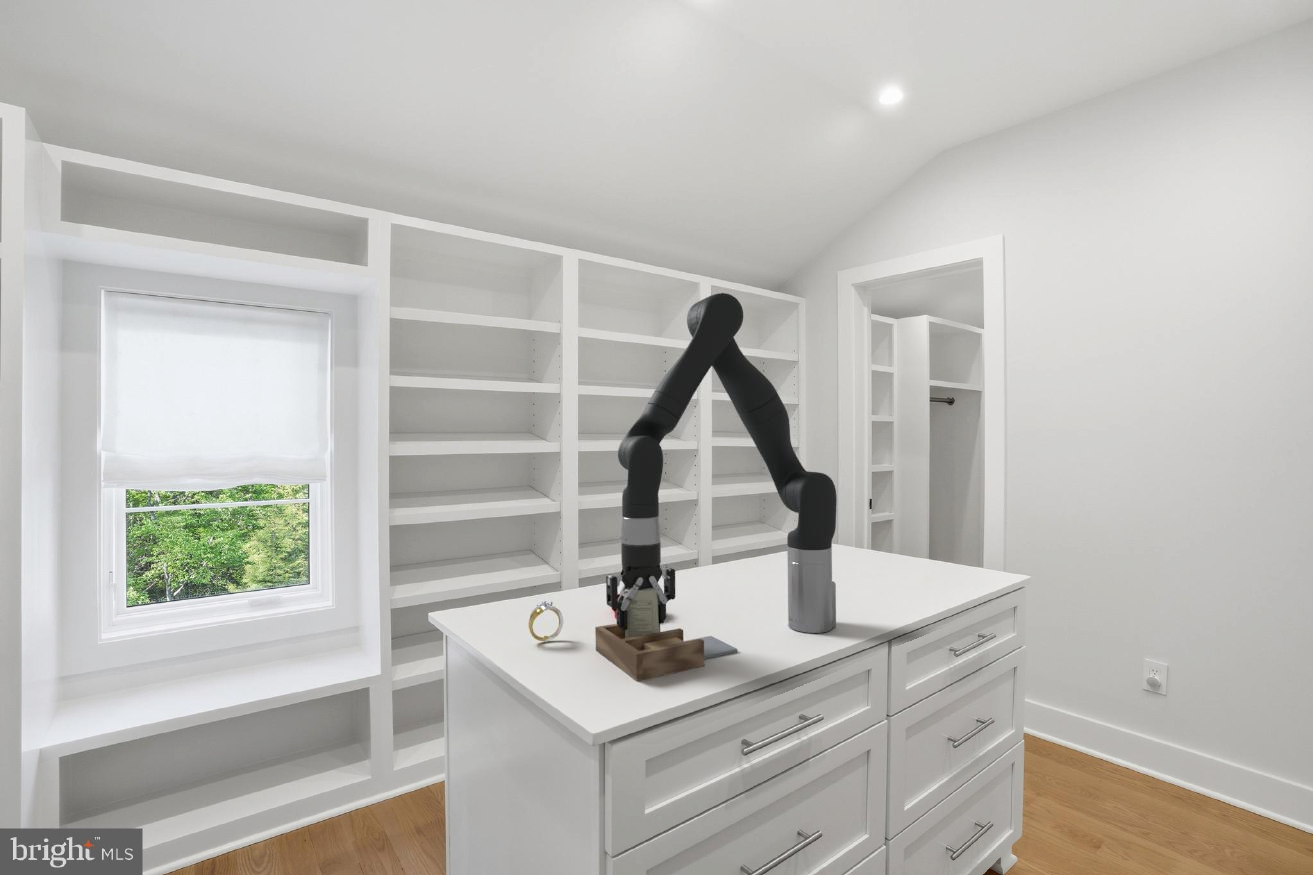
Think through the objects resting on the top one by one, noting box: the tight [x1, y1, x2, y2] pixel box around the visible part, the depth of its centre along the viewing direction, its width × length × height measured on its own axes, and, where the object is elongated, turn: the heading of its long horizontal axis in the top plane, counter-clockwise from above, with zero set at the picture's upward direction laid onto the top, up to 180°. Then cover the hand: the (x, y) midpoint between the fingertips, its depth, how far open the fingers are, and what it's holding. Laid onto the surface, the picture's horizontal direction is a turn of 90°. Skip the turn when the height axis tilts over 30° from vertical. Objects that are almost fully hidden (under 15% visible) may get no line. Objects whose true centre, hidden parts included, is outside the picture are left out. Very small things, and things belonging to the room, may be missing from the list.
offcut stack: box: [644, 637, 685, 650], centre depth 111 cm, size 8×5×4 cm, turn 118°
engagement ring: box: [527, 601, 564, 643], centre depth 124 cm, size 7×3×8 cm, turn 110°
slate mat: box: [683, 635, 738, 660], centre depth 119 cm, size 9×9×1 cm
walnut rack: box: [595, 623, 705, 682], centre depth 114 cm, size 14×17×4 cm
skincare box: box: [623, 588, 659, 639], centre depth 118 cm, size 6×4×12 cm
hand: (641, 625), depth 118 cm, fingers closed on skincare box, 7 cm apart
